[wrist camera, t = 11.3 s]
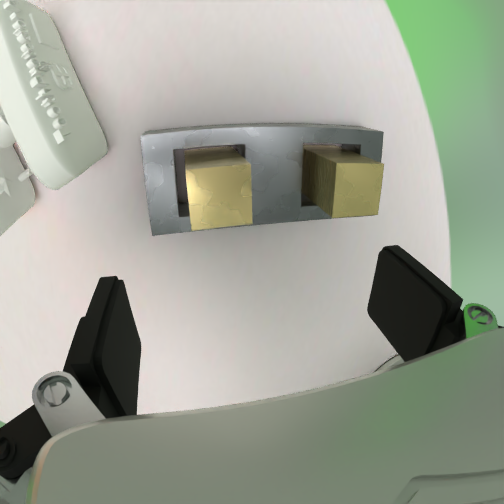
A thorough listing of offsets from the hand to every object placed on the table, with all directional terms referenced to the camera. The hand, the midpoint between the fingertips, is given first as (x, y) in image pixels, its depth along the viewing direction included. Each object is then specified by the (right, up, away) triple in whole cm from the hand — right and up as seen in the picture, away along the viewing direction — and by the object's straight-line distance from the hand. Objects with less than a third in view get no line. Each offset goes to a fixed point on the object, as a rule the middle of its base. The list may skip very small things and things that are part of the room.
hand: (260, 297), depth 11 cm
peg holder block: (+1, +9, +16) cm, 19 cm away
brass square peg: (-4, +9, +15) cm, 18 cm away
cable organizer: (-19, +14, +9) cm, 25 cm away
